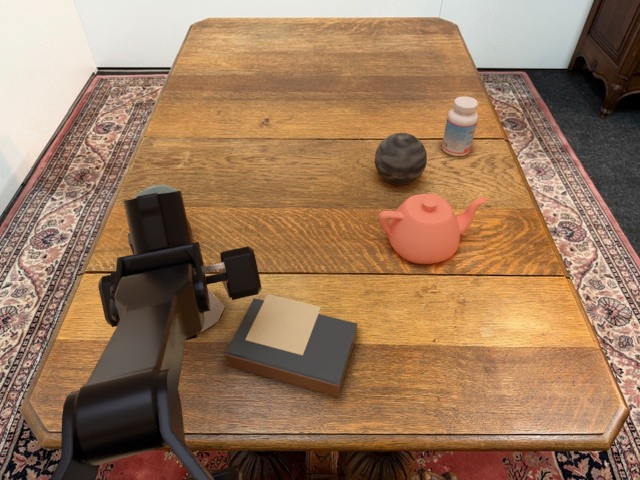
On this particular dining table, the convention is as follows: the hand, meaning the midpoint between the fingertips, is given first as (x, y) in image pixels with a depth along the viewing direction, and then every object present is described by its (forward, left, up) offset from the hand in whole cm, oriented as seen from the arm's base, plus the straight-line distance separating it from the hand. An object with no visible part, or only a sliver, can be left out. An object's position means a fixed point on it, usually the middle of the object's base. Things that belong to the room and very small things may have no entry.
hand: (189, 280), depth 67 cm
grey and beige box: (-2, -16, -8) cm, 18 cm away
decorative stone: (+41, -23, -8) cm, 48 cm away
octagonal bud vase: (0, 0, -8) cm, 8 cm away
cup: (+12, +12, -8) cm, 19 cm away
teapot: (+25, -31, -8) cm, 41 cm away
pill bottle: (+55, -33, -8) cm, 65 cm away
